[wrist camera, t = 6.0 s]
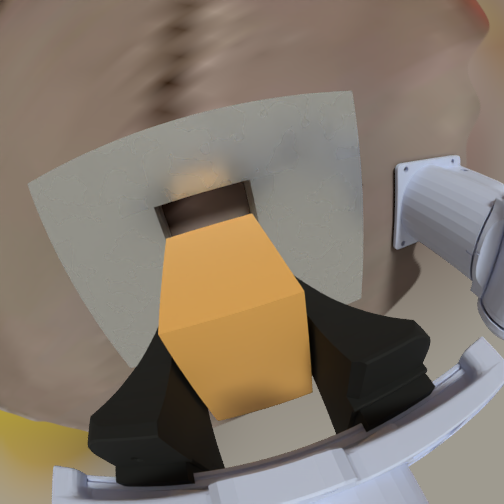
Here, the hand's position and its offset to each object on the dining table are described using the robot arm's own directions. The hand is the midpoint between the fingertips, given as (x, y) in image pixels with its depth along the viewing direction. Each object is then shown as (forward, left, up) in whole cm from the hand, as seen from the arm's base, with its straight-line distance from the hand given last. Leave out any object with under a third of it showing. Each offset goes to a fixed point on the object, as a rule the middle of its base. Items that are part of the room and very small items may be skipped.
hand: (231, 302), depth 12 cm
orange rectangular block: (0, 0, -2) cm, 2 cm away
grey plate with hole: (0, 0, -8) cm, 8 cm away
